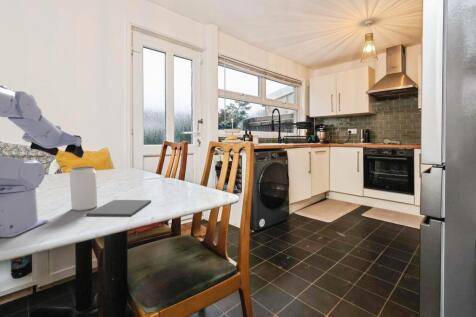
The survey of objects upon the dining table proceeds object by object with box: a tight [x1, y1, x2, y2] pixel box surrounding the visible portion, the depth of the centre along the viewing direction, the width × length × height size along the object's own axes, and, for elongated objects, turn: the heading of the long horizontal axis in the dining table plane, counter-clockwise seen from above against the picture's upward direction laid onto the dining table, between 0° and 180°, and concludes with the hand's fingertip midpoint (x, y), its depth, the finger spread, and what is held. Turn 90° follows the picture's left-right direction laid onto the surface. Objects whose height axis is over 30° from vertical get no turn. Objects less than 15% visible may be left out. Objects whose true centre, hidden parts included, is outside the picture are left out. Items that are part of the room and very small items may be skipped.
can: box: [69, 166, 99, 212], centre depth 69 cm, size 6×6×12 cm
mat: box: [86, 199, 152, 217], centre depth 70 cm, size 14×12×1 cm
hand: (69, 153), depth 73 cm, fingers open, 7 cm apart
